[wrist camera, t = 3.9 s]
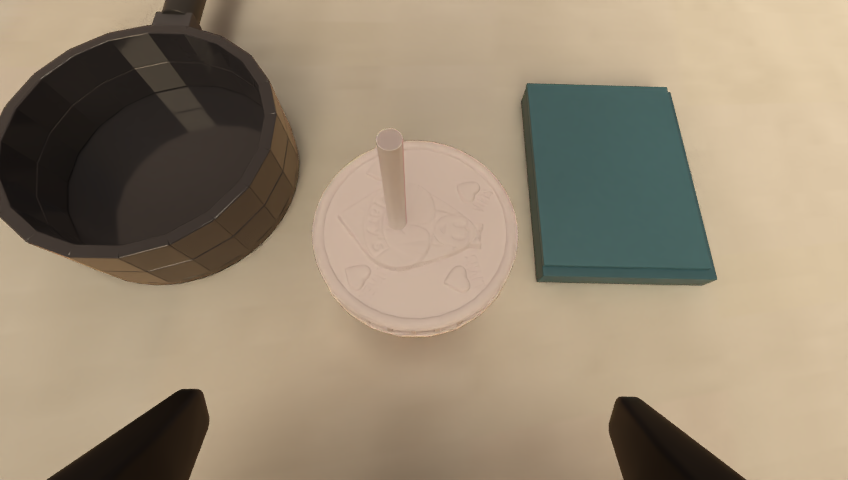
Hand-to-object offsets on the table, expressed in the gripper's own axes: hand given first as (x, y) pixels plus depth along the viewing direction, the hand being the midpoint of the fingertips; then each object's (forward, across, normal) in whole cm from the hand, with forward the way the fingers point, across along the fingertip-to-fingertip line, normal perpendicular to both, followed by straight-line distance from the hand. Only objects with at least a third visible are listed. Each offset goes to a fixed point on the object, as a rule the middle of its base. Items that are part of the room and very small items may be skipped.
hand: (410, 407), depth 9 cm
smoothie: (+12, 0, +5) cm, 13 cm away
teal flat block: (+17, -11, 0) cm, 20 cm away
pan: (+17, +14, 0) cm, 21 cm away
